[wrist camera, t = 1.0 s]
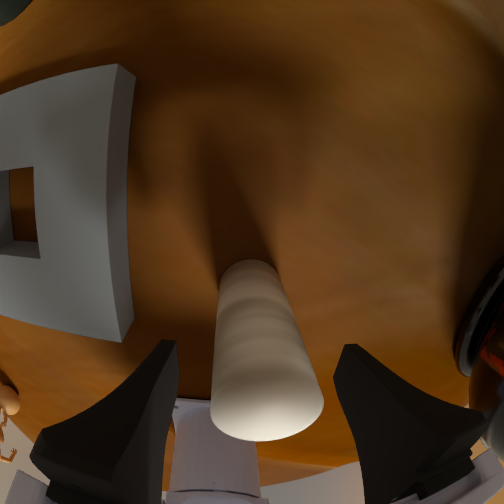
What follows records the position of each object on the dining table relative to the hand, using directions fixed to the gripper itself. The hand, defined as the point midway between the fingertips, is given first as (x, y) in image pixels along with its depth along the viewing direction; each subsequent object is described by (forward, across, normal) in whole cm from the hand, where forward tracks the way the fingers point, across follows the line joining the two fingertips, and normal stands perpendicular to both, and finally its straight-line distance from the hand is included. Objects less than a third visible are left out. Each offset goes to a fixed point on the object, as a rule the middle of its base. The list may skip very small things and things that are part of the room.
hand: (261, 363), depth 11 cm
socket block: (+7, +16, -5) cm, 18 cm away
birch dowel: (+7, 0, 0) cm, 7 cm away
